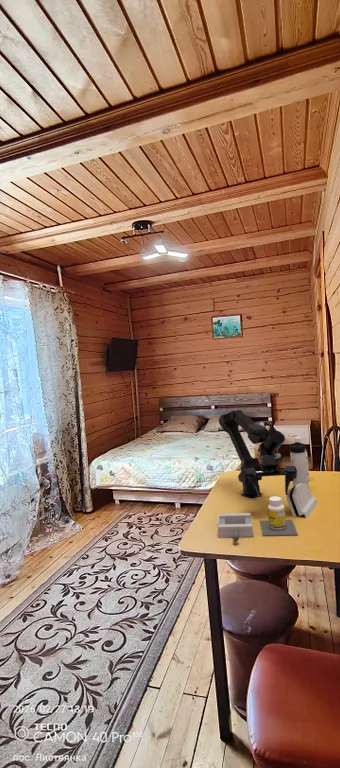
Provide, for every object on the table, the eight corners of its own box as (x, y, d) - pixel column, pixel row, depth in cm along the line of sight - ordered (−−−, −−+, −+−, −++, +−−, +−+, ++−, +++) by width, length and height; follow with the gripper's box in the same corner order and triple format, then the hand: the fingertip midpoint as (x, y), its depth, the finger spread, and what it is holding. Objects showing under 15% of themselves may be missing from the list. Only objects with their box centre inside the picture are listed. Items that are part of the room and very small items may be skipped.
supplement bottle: (266, 525, 129) (264, 497, 128) (280, 522, 130) (278, 494, 130) (274, 531, 124) (271, 502, 123) (289, 528, 125) (286, 499, 124)
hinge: (307, 518, 132) (295, 491, 134) (294, 521, 135) (283, 494, 136) (318, 502, 146) (307, 477, 148) (306, 504, 149) (296, 480, 150)
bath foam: (290, 480, 175) (287, 438, 174) (299, 476, 179) (296, 435, 178) (303, 483, 169) (299, 439, 168) (312, 479, 173) (309, 436, 172)
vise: (220, 523, 135) (219, 513, 135) (251, 522, 133) (250, 512, 133) (218, 545, 119) (217, 534, 119) (254, 544, 117) (253, 533, 117)
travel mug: (308, 487, 164) (304, 441, 163) (308, 492, 157) (304, 445, 157) (293, 486, 166) (289, 442, 165) (292, 491, 160) (289, 445, 159)
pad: (260, 522, 133) (260, 520, 133) (292, 521, 131) (292, 519, 131) (262, 536, 122) (262, 534, 122) (297, 535, 120) (297, 534, 120)
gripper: (241, 447, 140) (245, 486, 130) (293, 444, 136) (301, 483, 126) (243, 462, 148) (247, 500, 138) (292, 459, 145) (300, 497, 134)
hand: (273, 495), depth 134 cm, fingers open, 9 cm apart
